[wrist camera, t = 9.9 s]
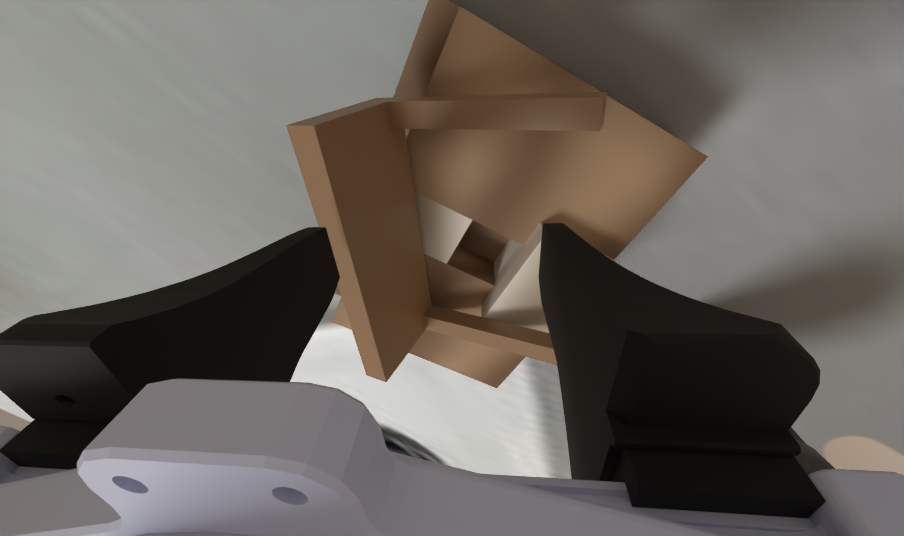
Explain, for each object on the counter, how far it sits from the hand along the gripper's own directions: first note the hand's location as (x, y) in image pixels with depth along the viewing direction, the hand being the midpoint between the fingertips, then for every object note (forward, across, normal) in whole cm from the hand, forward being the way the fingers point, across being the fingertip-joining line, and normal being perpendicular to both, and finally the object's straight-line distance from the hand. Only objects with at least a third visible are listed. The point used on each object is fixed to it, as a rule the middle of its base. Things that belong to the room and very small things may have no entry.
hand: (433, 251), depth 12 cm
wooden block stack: (+10, +2, +2) cm, 11 cm away
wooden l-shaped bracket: (+6, +2, +2) cm, 7 cm away
